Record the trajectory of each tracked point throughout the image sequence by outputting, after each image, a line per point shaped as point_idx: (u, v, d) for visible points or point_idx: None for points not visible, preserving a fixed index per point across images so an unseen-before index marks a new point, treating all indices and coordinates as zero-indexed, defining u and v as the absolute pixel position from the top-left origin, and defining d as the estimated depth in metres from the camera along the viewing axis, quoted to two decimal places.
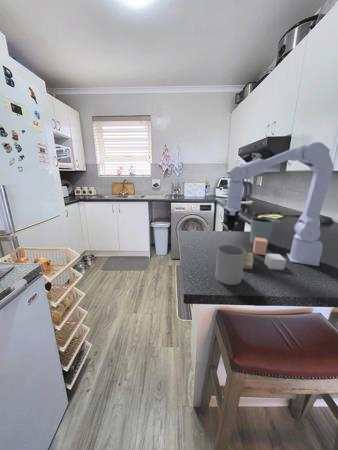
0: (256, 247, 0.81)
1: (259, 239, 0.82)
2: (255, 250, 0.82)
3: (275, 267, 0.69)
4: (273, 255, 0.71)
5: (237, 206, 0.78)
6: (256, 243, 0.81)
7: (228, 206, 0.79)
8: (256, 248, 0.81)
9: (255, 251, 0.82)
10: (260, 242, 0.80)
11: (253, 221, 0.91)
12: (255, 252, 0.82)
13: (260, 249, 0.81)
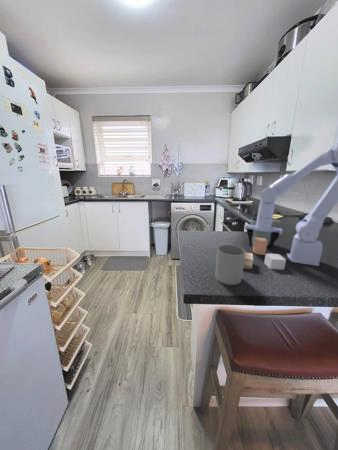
0: (256, 247, 0.81)
1: (259, 239, 0.82)
2: (255, 250, 0.82)
3: (275, 267, 0.69)
4: (273, 255, 0.71)
5: (257, 225, 0.80)
6: (256, 243, 0.81)
7: None
8: (256, 248, 0.81)
9: (255, 251, 0.82)
10: (260, 242, 0.80)
11: (253, 221, 0.91)
12: (255, 252, 0.82)
13: (260, 249, 0.81)
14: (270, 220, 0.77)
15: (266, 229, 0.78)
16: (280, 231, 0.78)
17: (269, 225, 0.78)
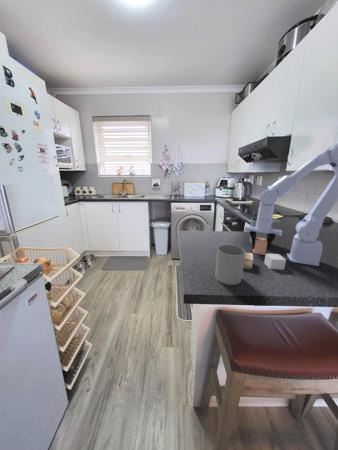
0: (256, 247, 0.81)
1: (259, 239, 0.82)
2: (255, 250, 0.82)
3: (275, 267, 0.69)
4: (273, 255, 0.71)
5: (257, 227, 0.80)
6: (256, 243, 0.81)
7: None
8: (256, 248, 0.81)
9: (255, 251, 0.82)
10: (260, 242, 0.80)
11: (253, 221, 0.91)
12: (255, 252, 0.82)
13: (260, 249, 0.81)
14: (270, 222, 0.77)
15: (266, 231, 0.78)
16: (280, 233, 0.78)
17: (269, 227, 0.78)
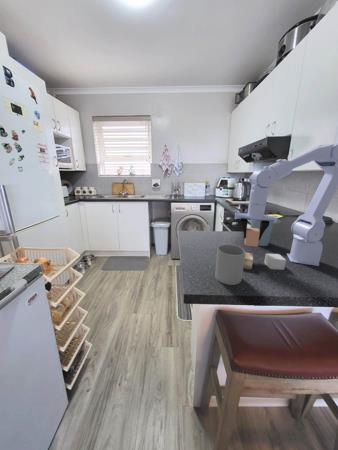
0: (247, 238, 0.72)
1: (251, 229, 0.73)
2: (246, 241, 0.73)
3: (275, 267, 0.69)
4: (273, 255, 0.71)
5: (249, 213, 0.70)
6: (247, 233, 0.72)
7: None
8: (247, 239, 0.72)
9: (246, 242, 0.73)
10: (252, 232, 0.71)
11: (253, 221, 0.91)
12: (246, 243, 0.73)
13: (251, 239, 0.72)
14: (263, 207, 0.68)
15: (258, 217, 0.68)
16: (274, 220, 0.68)
17: (262, 213, 0.68)
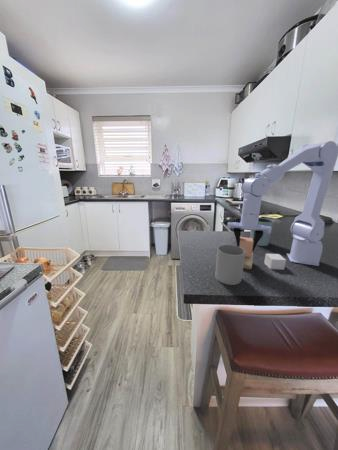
0: None
1: (244, 239, 0.70)
2: None
3: (275, 267, 0.69)
4: (273, 255, 0.71)
5: (242, 223, 0.67)
6: (240, 243, 0.69)
7: None
8: None
9: None
10: (245, 242, 0.68)
11: None
12: None
13: (245, 250, 0.69)
14: (256, 216, 0.65)
15: (252, 227, 0.65)
16: (268, 229, 0.65)
17: (255, 222, 0.65)
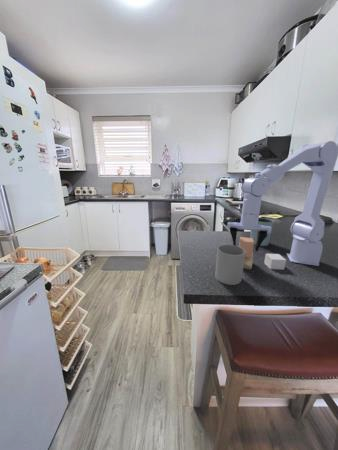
0: None
1: (244, 239, 0.70)
2: None
3: (275, 267, 0.69)
4: (273, 255, 0.71)
5: (242, 223, 0.67)
6: (241, 244, 0.69)
7: None
8: None
9: None
10: (245, 243, 0.68)
11: None
12: None
13: (245, 251, 0.69)
14: (256, 216, 0.65)
15: (252, 227, 0.65)
16: (268, 229, 0.65)
17: (255, 222, 0.65)
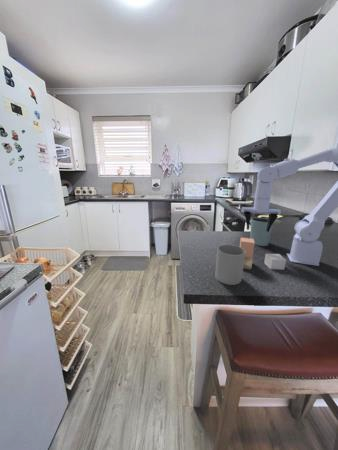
0: None
1: (245, 240, 0.70)
2: None
3: (275, 267, 0.69)
4: (273, 255, 0.71)
5: (255, 207, 0.77)
6: (241, 244, 0.68)
7: None
8: None
9: None
10: (246, 243, 0.68)
11: (253, 221, 0.91)
12: None
13: (246, 251, 0.69)
14: (268, 200, 0.74)
15: (264, 210, 0.75)
16: (278, 212, 0.75)
17: (267, 206, 0.75)
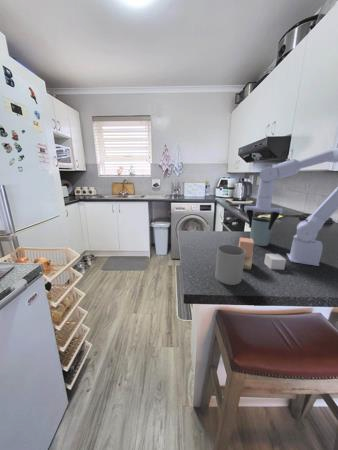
0: None
1: (244, 239, 0.70)
2: None
3: (275, 267, 0.69)
4: (273, 255, 0.71)
5: (257, 205, 0.79)
6: (241, 244, 0.68)
7: None
8: None
9: None
10: (245, 243, 0.68)
11: (253, 221, 0.91)
12: None
13: (245, 251, 0.69)
14: (270, 199, 0.77)
15: (266, 209, 0.78)
16: (280, 211, 0.78)
17: (269, 205, 0.78)
